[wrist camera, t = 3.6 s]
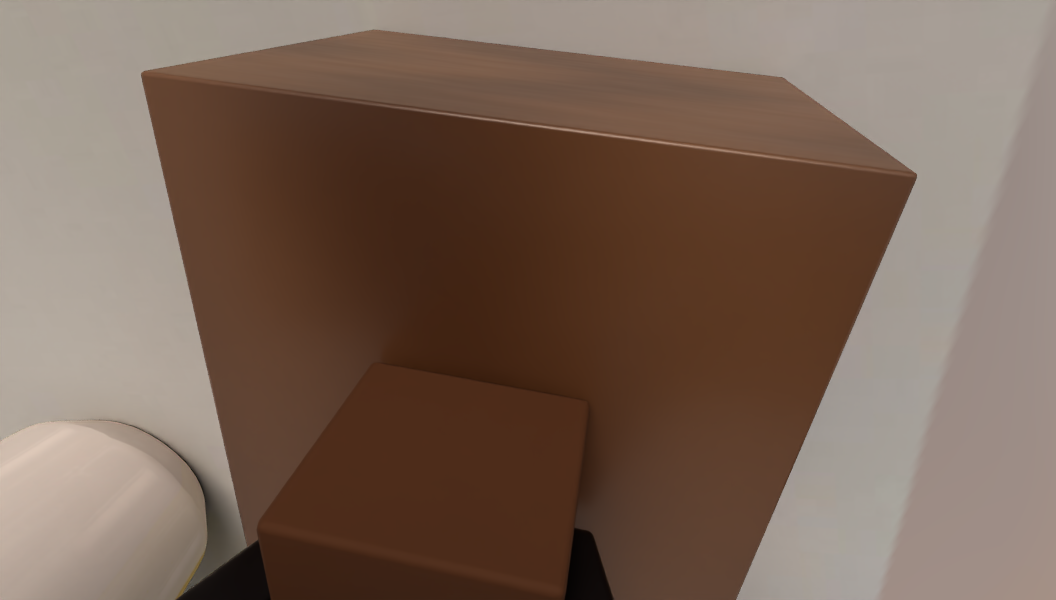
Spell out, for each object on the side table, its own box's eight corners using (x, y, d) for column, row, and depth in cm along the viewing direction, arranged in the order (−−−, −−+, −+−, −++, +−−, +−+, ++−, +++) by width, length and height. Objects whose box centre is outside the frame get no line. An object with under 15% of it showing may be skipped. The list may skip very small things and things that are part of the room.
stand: (784, 77, 12) (921, 174, 6) (659, 509, 19) (666, 765, 12) (372, 29, 13) (137, 70, 7) (389, 454, 20) (273, 667, 13)
